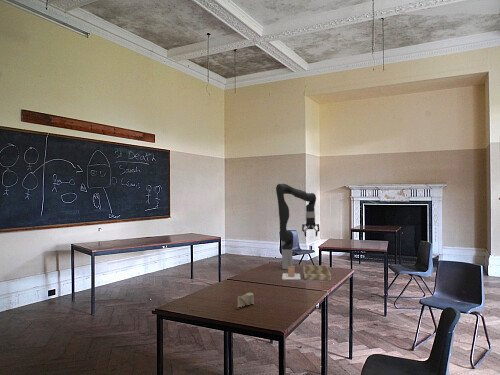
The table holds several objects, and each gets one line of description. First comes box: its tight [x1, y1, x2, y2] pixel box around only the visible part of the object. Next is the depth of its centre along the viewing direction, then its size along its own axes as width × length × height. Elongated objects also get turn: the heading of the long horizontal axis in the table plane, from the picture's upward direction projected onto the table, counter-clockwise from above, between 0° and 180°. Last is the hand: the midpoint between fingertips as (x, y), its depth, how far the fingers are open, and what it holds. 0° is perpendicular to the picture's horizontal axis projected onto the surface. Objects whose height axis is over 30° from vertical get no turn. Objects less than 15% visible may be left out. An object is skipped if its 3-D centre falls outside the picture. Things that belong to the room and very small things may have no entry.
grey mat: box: [281, 272, 301, 281], centre depth 290 cm, size 14×20×1 cm
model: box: [237, 292, 255, 308], centre depth 214 cm, size 3×11×8 cm, turn 141°
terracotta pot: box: [287, 264, 296, 277], centre depth 290 cm, size 6×6×8 cm
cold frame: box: [302, 265, 332, 281], centre depth 288 cm, size 20×20×7 cm
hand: (310, 236), depth 304 cm, fingers open, 8 cm apart
